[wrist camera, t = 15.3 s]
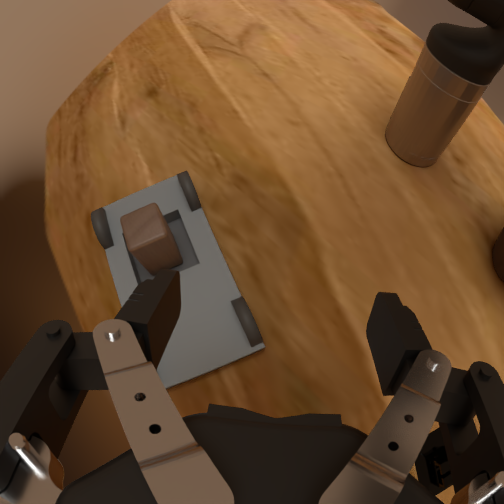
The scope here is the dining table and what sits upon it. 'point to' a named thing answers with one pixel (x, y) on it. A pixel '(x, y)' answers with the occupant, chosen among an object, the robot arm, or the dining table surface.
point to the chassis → (184, 282)
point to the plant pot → (499, 255)
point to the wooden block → (150, 239)
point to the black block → (434, 464)
